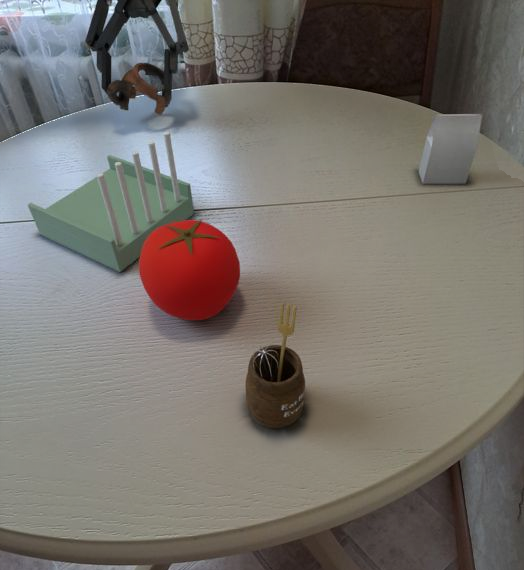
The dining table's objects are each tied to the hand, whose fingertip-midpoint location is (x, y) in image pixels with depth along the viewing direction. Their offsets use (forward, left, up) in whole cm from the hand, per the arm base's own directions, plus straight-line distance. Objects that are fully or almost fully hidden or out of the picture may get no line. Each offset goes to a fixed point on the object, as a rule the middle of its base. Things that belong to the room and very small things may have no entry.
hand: (137, 91), depth 88 cm
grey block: (+53, +13, -7) cm, 55 cm away
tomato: (+37, -31, -7) cm, 49 cm away
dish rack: (+17, -24, -7) cm, 30 cm away
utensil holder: (+54, -39, -7) cm, 67 cm away
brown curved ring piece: (-2, +2, -5) cm, 5 cm away
